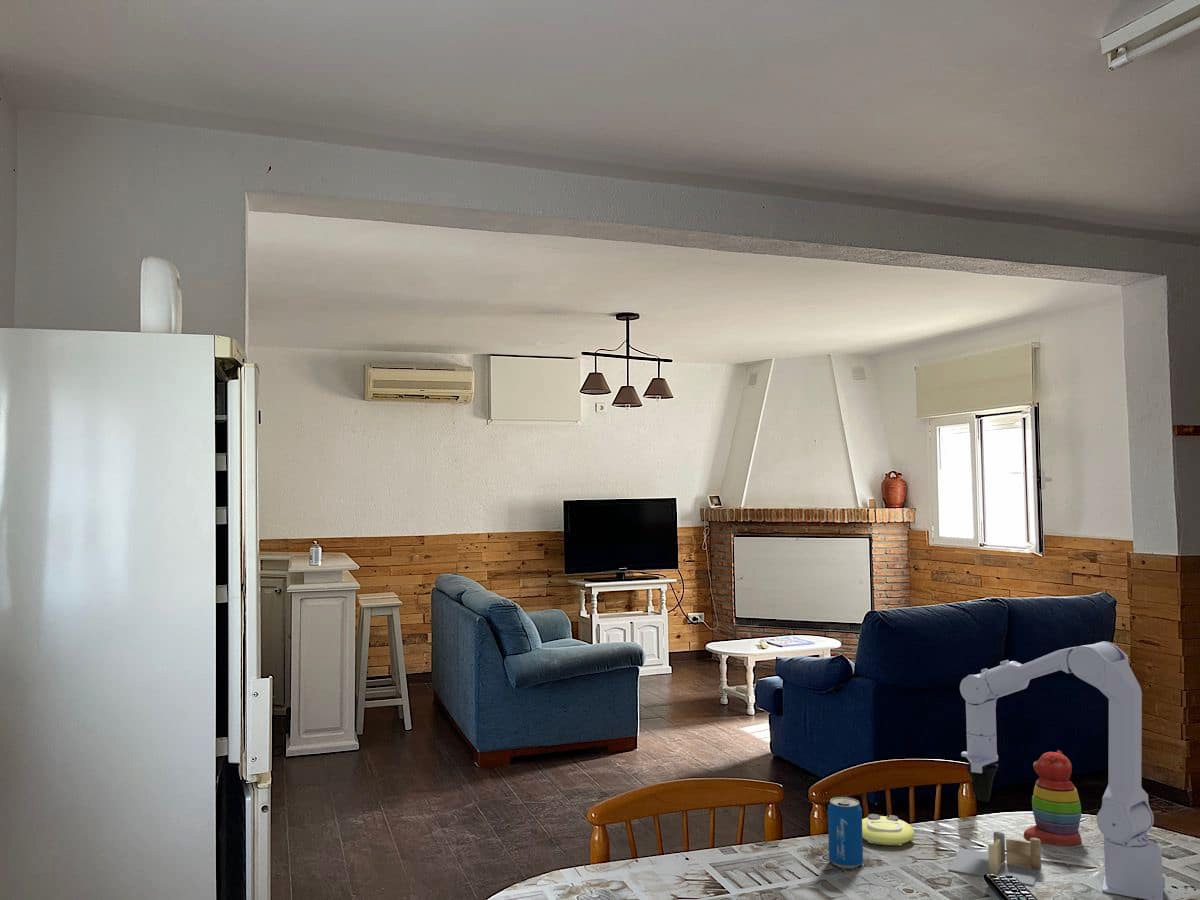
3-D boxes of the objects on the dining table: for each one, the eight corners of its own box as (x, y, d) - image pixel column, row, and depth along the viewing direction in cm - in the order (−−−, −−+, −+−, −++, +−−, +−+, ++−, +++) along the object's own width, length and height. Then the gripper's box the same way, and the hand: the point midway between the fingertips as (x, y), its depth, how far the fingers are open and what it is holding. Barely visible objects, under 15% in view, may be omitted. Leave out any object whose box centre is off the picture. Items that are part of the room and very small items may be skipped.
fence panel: (995, 857, 188) (994, 831, 188) (1005, 859, 187) (1005, 832, 187) (987, 873, 180) (986, 846, 180) (998, 875, 179) (997, 847, 179)
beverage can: (825, 866, 185) (824, 803, 186) (833, 855, 191) (832, 794, 192) (858, 872, 182) (857, 808, 183) (866, 861, 188) (864, 799, 189)
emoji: (917, 834, 194) (910, 811, 205) (856, 831, 196) (853, 808, 208) (918, 853, 194) (911, 829, 205) (857, 850, 196) (853, 826, 208)
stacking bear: (1041, 826, 208) (1038, 743, 209) (1090, 837, 200) (1087, 751, 201) (1020, 838, 200) (1017, 752, 201) (1070, 850, 193) (1067, 761, 194)
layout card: (1041, 863, 186) (1041, 861, 186) (1033, 886, 175) (1033, 884, 175) (960, 849, 194) (960, 848, 194) (948, 870, 183) (948, 869, 183)
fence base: (1041, 867, 183) (1040, 838, 184) (1040, 870, 182) (1039, 841, 182) (1007, 861, 186) (1006, 833, 187) (1006, 864, 185) (1005, 836, 185)
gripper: (967, 723, 205) (969, 788, 204) (954, 738, 192) (956, 806, 192) (1002, 727, 201) (1004, 793, 200) (991, 742, 189) (993, 812, 188)
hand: (983, 800), depth 196 cm, fingers closed
